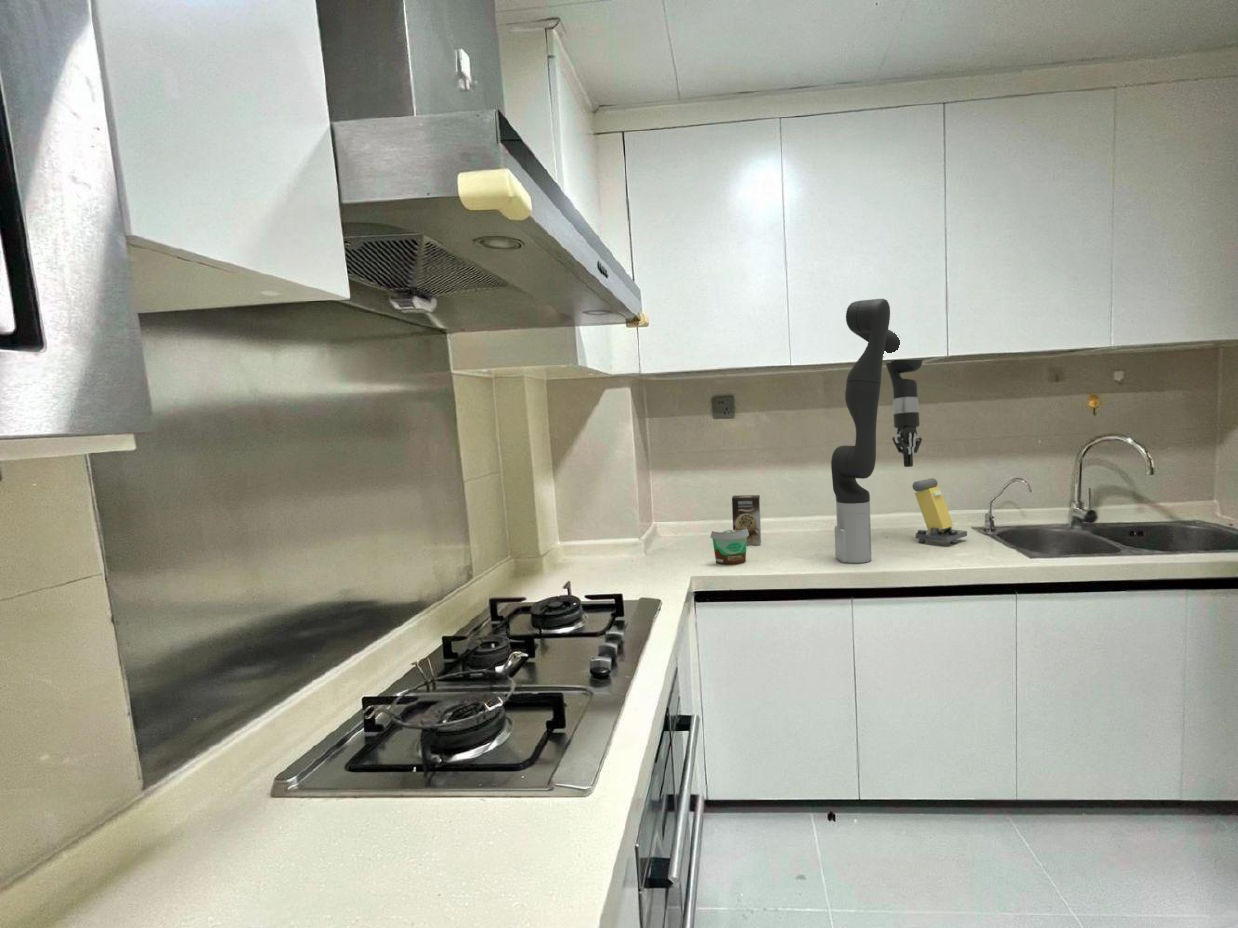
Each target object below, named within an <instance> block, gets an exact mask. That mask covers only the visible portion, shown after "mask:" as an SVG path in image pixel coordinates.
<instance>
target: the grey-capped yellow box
mask: <svg viewBox="0 0 1238 928" xmlns="http://www.w3.org/2000/svg"><path fill="white" fill-rule="evenodd" d="M912 490H914V491H915V492H914V496H915V497H916V501H917V503H918V506H919V509H920V511H921V515H922V517H923V520H924V523H925V525H926V526H925V527H926V530H928V531H929V532H931V528H932V527H933V528H939V532H942V531H945V530H948V529H949V527H951V526H952V527H954V523H953V520H952V518H951V515H950V512H949V510H948V506H947V504H946V502H945V499H944V496H943V494H942V490H941V488H940V486H938V481H937V479H936V478H933V477H931V478H927V479H922V480H917V481H914V482H913V483H912Z"/></svg>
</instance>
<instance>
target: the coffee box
mask: <svg viewBox="0 0 1238 928" xmlns="http://www.w3.org/2000/svg"><path fill="white" fill-rule="evenodd" d="M760 499H761V497H760V495H758V494H756V495H755V494H754V495H753V494H752V495H751V494H750V495H744V494H743V495H732V496H731V507H732V508H731V509H732V512H731V513H732V530H741V529H744V526H745V527H747V530H748V532H749V536H748V537H747V543H746V546H761V545H762V532H761V506H760V505H761V502H760V501H761V500H760Z"/></svg>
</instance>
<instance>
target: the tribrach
mask: <svg viewBox="0 0 1238 928" xmlns="http://www.w3.org/2000/svg"><path fill="white" fill-rule="evenodd" d="M952 527H953V526H951V527H949V529H948V530H945V531H942V532H939V528H933V527H932V528H931V532H929V531H928V529H918V530H917V533H915V539H918V544H926V540H927V541H932V542H933V541H934V542H940V543H941V542H942V543H949V544H951V545H957V544H958V539H961V538H964V537H967V536H968V531H967V530H962V529H961V530H960V529H952Z"/></svg>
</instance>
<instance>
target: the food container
mask: <svg viewBox="0 0 1238 928" xmlns="http://www.w3.org/2000/svg"><path fill="white" fill-rule="evenodd" d="M748 536H749V532H748V530H747V527H745V526H744V529H741V530H733V529H731V530H730V529H729V530H726V531H714V530H711V533H710V539H712V544H713V550H714V551H713V552H714V558H715V563H716V565H719V566H720V565H722V566H737V565H738V566H739V565H743V564H744V563H746V562H747V561H746V559H747V545H746V543H747V537H748Z"/></svg>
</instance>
